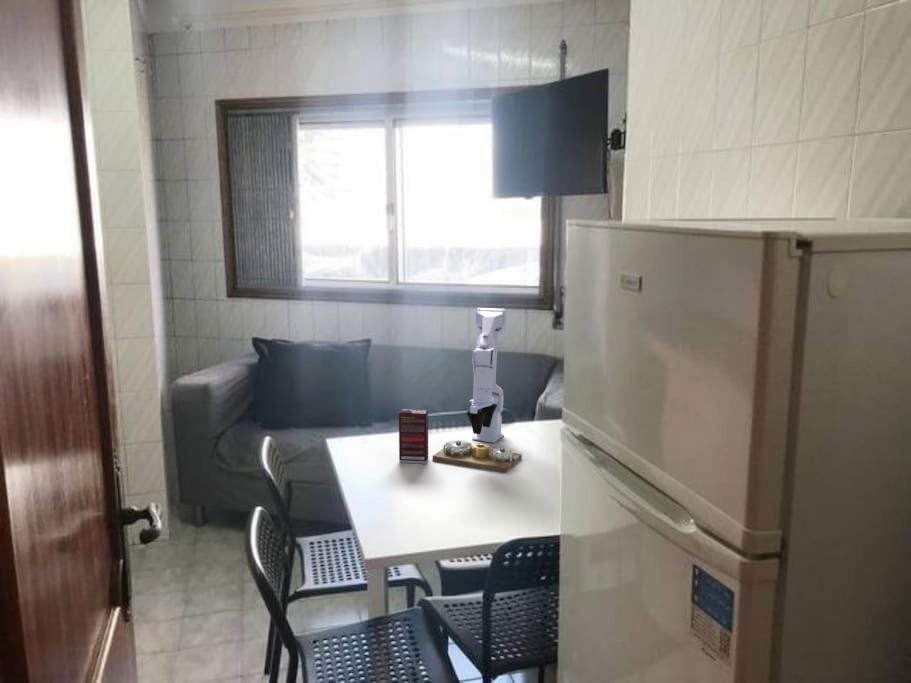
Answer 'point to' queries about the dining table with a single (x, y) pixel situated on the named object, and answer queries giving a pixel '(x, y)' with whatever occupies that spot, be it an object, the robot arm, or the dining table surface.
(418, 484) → the dining table surface
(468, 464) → the gear board
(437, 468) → the dining table surface
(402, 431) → the supplement box
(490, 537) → the dining table surface
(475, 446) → the brass gear
